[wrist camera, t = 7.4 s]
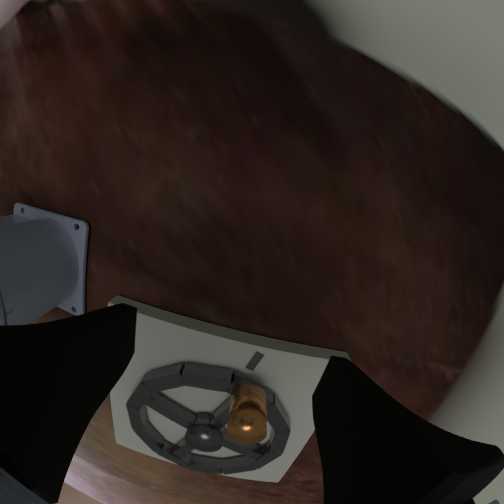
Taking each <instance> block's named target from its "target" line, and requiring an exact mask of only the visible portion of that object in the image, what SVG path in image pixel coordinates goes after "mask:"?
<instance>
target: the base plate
mask: <svg viewBox="0 0 504 504" xmlns="http://www.w3.org/2000/svg"><path fill="white" fill-rule="evenodd" d="M120 303H125V304H128V305H130V306H133V307H136V308H137V321H136V336H135V353H134V355H133V357H132V359H131V361H130V363H129V365H128V366H127V368H126V370H125V372H124V374H123V375H122V376H121V378H120V379H119V380H118V382H117V383H116V385H115V386H114V387H113V389H112V390H111V391H110V397H111V407H112V416H113V424H114V431H115V438H116V443H117V444H120V445H122V446H125V447H127V448H130V449H132V450H135V451H138V452H140V453H143V454H146V455H149V456H152V457H155V458H158V459H161V460H164V461H167V462H171V463H174V462H172V461H170V460H168V459H166V458H164V457H162V456H160V455H158V454H156V452H153V451H152V450H151V449H150V448H149V447H148V446H147V445H146V444H145V443H144V442H143V441H142V440H141V439H140V438H139V436H138V435H137V434H136V433H135V432H134V431H133V429H132V427H131V424H130V420H129V416H128V411H127V407H126V402H127V401H128V399H129V397H130V395H131V394H132V392H133V391H134V390H135V388H136V387H137V385H138V384H139V382H140V381H141V380H142V378H143V377H144V375H145V374H147V373H148V372H150V371H154V370H158V369H162V368H166V367H169V366H173V365H177V364H180V363H184V365H185V364H186V363H192V364H197V365H203V366H210V367H216V368H224V369H231V370H233V371H232V374H233V373H234V372H235V371H237V372H239V373H240V374H242V375H244V376H246V377H247V378H249V379H251V380H253V381H254V382H256V383H258V384H260V385H262V386H263V387H265V388H267V389H269V390H271V391H273V394H274V393H275V395H276V396H277V398H278V400H279V402H280V403H281V405H282V407H283V409H284V410H285V412H286V414H287V416H288V417H289V419H290V429H291V432H290V435H289V438H288V441H287V444H286V446H285V449H284V452H283V454H282V455H281V456H279V457H278V458H276V459H274V460H273V461H271V462H270V463H268V464H266V465H265V466H263V467H261V468H260V469H256V470H253V471H247V472H240V473H233V474H225V476H230V477H236V478H243V479H250V480H258V481H267V482H279V481H280V479H281V478H282V477H283V475H284V474H285V473H286V471H287V470H288V469H289V467H290V466H291V464H292V463H293V462H294V460H295V459H296V457H297V456H298V454H299V453H300V451H301V450H302V448H303V447H304V445H305V444H306V442H307V441H308V439H309V438H310V436H311V435H312V433H313V432H314V430H315V427H314V421H313V412H312V395H313V393H314V391H315V389H316V387H317V385H318V383H319V381H320V378H321V376H322V374H323V372H324V370H325V368H326V366H327V364H328V362H329V359H330V357H331V356H338V357H344V358H347V359H348V360H350V358H349V356H348V354H347V352H343V351H337V350H331V349H325V348H319V347H314V346H308V345H303V344H298V343H293V342H288V341H283V340H278V339H273V338H269V337H264V336H260V335H255V334H251V333H247V332H242V331H238V330H234V329H230V328H226V327H222V326H218V325H215V324H211V323H207V322H203V321H200V320H196V319H192V318H189V317H185V316H182V315H179V314H175V313H172V312H168V311H165V310H162V309H159V308H155V307H152V306H149V305H146V304H143V303H140V302H137V301H134V300H131V299H128V298H125V297H122V296H119V295H117V296H116V297H114V298H113V299H112V300H110V301H109V302H108V306H112V305H115V304H120ZM350 361H351V360H350ZM156 393H158V394H160V395H161V396H163V397H164V398H166V399H168V400H169V401H171V402H173V403H174V404H176V405H178V406H179V407H181V408H183V409H185V410H186V411H188V412H190V413H192V414H193V415H196V414H210V415H212V414H213V413H214V412H215V411H216V410H217V409H218V408H219V407H221V406H222V405H223V404H224V403H225V402H226V401H227V400H228V399H229V398H230V397H231V396H232V395H230V394H229V393H227V392H220V391H213V390H207V389H201V388H195V387H190V386H182V387H178V388H173V389H169V390H164V391H159V392H156ZM145 408H146V414H147V419H148V423H149V424H150V425H151V426H152V427H153V428H154V430H155V431H156V432H157V433H158V434H159V435H160V436H161V437H162V438H163V439H164V440H165V441H166V442H167V443H169V444H171V445H173V446H176V445H177V444H178V443H179V442H180V441H182V440H183V439H184V438H185V434H186V431H187V429H186V428H184V427H182V426H181V425H179V424H177V423H175V422H173V421H172V420H170V419H168V418H166V417H165V416H163V415H161V414H160V413H158V412H156V411H155V410H153V409H151V408H150V407H148V406H147V405H145ZM226 429H227V424H226V425H225V431H226ZM272 430H273V428H272V427H271V425H270V424H269V422H268V421H267V436H266V438H265V439H264V440H263V441H261V442H259V443H256V445H258V446H261V447H262V446H264V445H265V444H267V443H268V442H269V441H270V437H271V433H272ZM189 454H191V455H196V456H201V457H207V458H214V459H221V460H223V459H230V458H236V457H242V456H244V455H242V454H239V453H237V452H234V451H232V450H230V449H227V448H225V447H223V446H222V447H221V449H219V450H218V451H215V452H202V451H198V450H196V449H194V450H192V451H191V452H190V453H189ZM174 464H176V463H174ZM177 465H178V464H177ZM220 475H224V474H223V473H222V474H220Z"/></svg>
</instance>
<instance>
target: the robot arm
mask: <svg viewBox="0 0 504 504" xmlns="http://www.w3.org/2000/svg"><path fill="white" fill-rule="evenodd" d="M77 224H78V225H79V229H78V228H77ZM88 233H89V226H88V224H87V222H85V221H82V220H79V219H75V218H71V217H68V216H64V215H61V214H57V213H54V212H50V211H47V210H43V209H39V208H36V207H32V206H29V205H26V204H22V203H16V204H15V205H14V214H12V215H7V216H1V217H0V504H54V503H58V499H59V495H60V492H61V489H62V485H63V482H64V479H65V476H66V473H67V471H68V468H69V465H70V463H71V460H72V458H73V455H74V453H75V451H76V449H77V447H78V444H79V442H80V440H81V438H82V436H83V434H84V432H85V430H86V428H87V426H88V424H89V422H90V420H91V419H92V417H93V415H94V414H95V412H96V411H97V409H98V408H99V407H100V405H101V404H102V402H103V401H104V400H105V398H106V397H107V396H108V394H109V393H110V391H111V390H112V389H113V387H114V386H115V385H116V383H117V382H118V380H119V379H120V378H121V376H122V375H123V374H124V372H125V370H126V368H127V366H128V365H129V363H130V361H131V359H132V357H133V355H134V353H135V336H136V321H137V308H136V307H133V306H130V305H128V304H125V303H120V304H115V305H112V306H108V307H105V308H101V309H98V310H95V311H91V312H88V313H85V274H86V256H87V243H88ZM56 306H57V307H59V308H61V309H63V310H65V311H67V312H69V313H72V314H74V315H76V316H73V317H69V318H65V319H61V320H56V321H51V322H45V323H38V324H31V323H32V322H34V321H35V320H36V319H38V318H39V317H41V316H42V315H44V314H45V313H47V312H48V311H50V310H51V309H53V308H55V307H56ZM74 308H75V309H76V310H75V309H74ZM312 412H313V421H314V427H315V432H316V437H317V442H318V447H319V452H320V458H321V463H322V470H323V486H324V504H475V503H474V501H473V497H475V496H476V495H477V494H478V493H479V492H480V491H481V490H483V489H484V488H485V487H486V486H487V485H488V484H489V483H490V482H491V481H492V480H493V479H494V478H495V477H496V476H497V475H498V474H499V473H500V472H501V471H502V470H503V468H504V454H503V453H502V451H501V450H500V449H499V448H498V447H497V446H495V445H490V444H485V443H481V442H476V441H472V440H469V439H466V438H463V437H460V436H457V435H455V434H452V433H450V432H448V431H445V430H443V429H441V428H439V427H437V426H435V425H433V424H431V423H429V422H427V421H426V420H424V419H422V418H421V417H419V416H418V415H416V414H414V413H413V412H411V411H410V410H408V409H407V408H405V407H404V406H403V405H401V404H400V403H399V402H397V401H396V400H395V399H394V398H392V397H391V396H390V395H389V394H387V393H386V392H385V391H384V390H383V389H382V388H380V387H379V386H378V385H377V384H376V383H375V382H374V381H373V380H371V379H370V378H369V377H368V376H367V375H366V374H365V373H364V372H363V371H362V370H360V369H359V368H358V367H357V366H356V365H355V364H354V363H352V362H351V361H350V360H348V359H347V358H344V357H338V356H331V357H330V359H329V362H328V364H327V366H326V368H325V370H324V372H323V374H322V376H321V378H320V381H319V383H318V385H317V387H316V389H315V391H314V393H313V395H312ZM489 504H499V502H498V500H494V501H493V502H491V503H489Z"/></svg>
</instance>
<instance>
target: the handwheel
mask: <svg viewBox="0 0 504 504" xmlns="http://www.w3.org/2000/svg"><path fill="white" fill-rule="evenodd" d="M232 371H233V370H231V369H224V368H216V367H210V366H203V365H197V364H192V363H186V364H185V365H184V363H180V364H177V365H173V366H169V367H166V368H162V369H158V370H154V371H150V372H148V373H147V374H145V375H144V377H143V378H142V380H141V381H140V382H139V384H138V385H137V387H136V388H135V390H134V391H133V392H132V394H131V395H130V397H129V399H128V401H127V402H126V407H127V411H128V416H129V420H130V424H131V427H132V429H133V431H134V432H135V433H136V434H137V435H138V436H139V438H140V439H141V440H142V441H143V442H144V443H145V444H146V445H147V446H148V447H149V448H150V449H151V450H152V451H153V452H156V454H158V455H160V456H162V457H164V458H166V459H168V460H170V461H172V462H174V463H176V464H178V465H180V466H182V467H184V468H187V467H188V469H191V470H196V471H202V472H208V473H214V474H222V473H223V474H224V475H225V474H233V473H240V472H247V471H253V470H256V469H260V468H261V467H263V466H265V465H266V464H268V463H270V462H271V461H273V460H274V459H276V458H278V457H279V456H281V455H282V454H283V452H284V449H285V446H286V444H287V441H288V438H289V435H290V432H291V429H290V419H289V417H288V416H287V414H286V412H285V410H284V409H283V407H282V405H281V403H280V402H279V400H278V398H277V396H276V395H275V393H274V394H273V391H271V390H269V389H267V388H265V387H263V386H262V385H260V384H258V383H256V382H254V381H253V380H251V379H249V378H247V377H246V376H244V375H242V374H240V373H239V372H237V371H235V372H234V373H233V374H232ZM182 386H190V387H195V388H201V389H207V390H213V391H220V392H227V393H229V394H230V395H232V396H231V397H230V398H229V399H228V400H227V401H226V402H225V403H224V404H223V405H222V406H221V407H219V408H218V409H217V410H216V411H215V412H214V413H213V414H212V415H210V414H196V415H193V414H192V413H190V412H188V411H186V410H185V409H183V408H181V407H179V406H178V405H176V404H174V403H173V402H171V401H169V400H168V399H166V398H164V397H163V396H161V395H160V394H158V393H156V392H159V391H164V390H169V389H173V388H178V387H182ZM145 405H147V406H148V407H150V408H151V409H153V410H155V411H156V412H158V413H160V414H161V415H163V416H165V417H166V418H168V419H170V420H172V421H173V422H175V423H177V424H179V425H181V426H182V427H184V428H186V429H187V431H186V434H185V438H184V439H183V440H182V441H180V442H179V443H178V444H177V445H176V446H173V445H171V444H169V443H167V442H166V441H165V440H164V439H163V438H162V437H161V436H160V435H159V434H158V433H157V432H156V431H155V430H154V428H153V427H152V426H151V425H150V424H149V423H148V419H147V414H146V408H145ZM267 421H268V422H269V424H270V425H271V427H272V428H273V430H272V433H271V437H270V441H269V442H268V443H267V444H265V445H264V446H262V447H261V446H258V445H256V443H259V442H261V441H263V440H264V439H265V438H266V436H267ZM226 424H227V429H226V431H225V425H226ZM222 446H223V447H225V448H227V449H230V450H232V451H234V452H237V453H239V454H242V455H244V456H242V457H236V458H230V459H223V460H221V459H214V458H207V457H201V456H196V455H191V454H189V453H190V452H191V451H192V450H194V449H196V450H198V451H202V452H215V451H218V450H219V449H221V447H222Z"/></svg>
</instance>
